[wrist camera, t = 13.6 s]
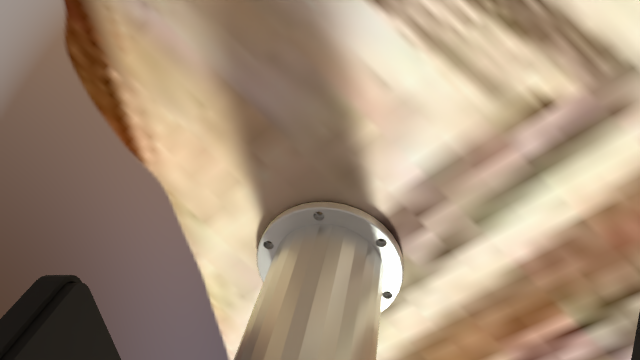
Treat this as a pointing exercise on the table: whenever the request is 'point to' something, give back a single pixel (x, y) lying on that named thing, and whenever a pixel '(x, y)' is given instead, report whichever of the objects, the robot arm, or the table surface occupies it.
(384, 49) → the table surface
